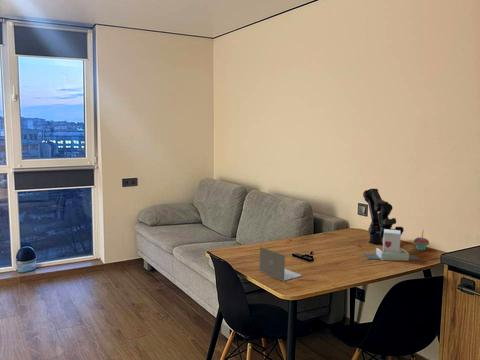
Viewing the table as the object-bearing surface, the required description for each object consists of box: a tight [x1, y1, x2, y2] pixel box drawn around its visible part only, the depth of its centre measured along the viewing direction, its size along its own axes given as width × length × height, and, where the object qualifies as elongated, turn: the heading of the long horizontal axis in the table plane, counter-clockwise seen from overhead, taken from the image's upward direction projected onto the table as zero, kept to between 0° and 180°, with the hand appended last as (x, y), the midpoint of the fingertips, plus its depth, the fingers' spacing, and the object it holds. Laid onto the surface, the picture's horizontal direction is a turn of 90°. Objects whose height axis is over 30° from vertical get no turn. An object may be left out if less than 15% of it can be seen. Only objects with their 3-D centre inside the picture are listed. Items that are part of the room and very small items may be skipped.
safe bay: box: [363, 247, 422, 262], centre depth 245 cm, size 10×29×4 cm, turn 89°
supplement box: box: [382, 229, 402, 253], centre depth 245 cm, size 9×9×15 cm
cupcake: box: [413, 230, 430, 251], centre depth 263 cm, size 9×8×12 cm
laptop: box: [258, 246, 303, 282], centre depth 215 cm, size 18×12×13 cm
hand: (388, 243), depth 250 cm, fingers closed
